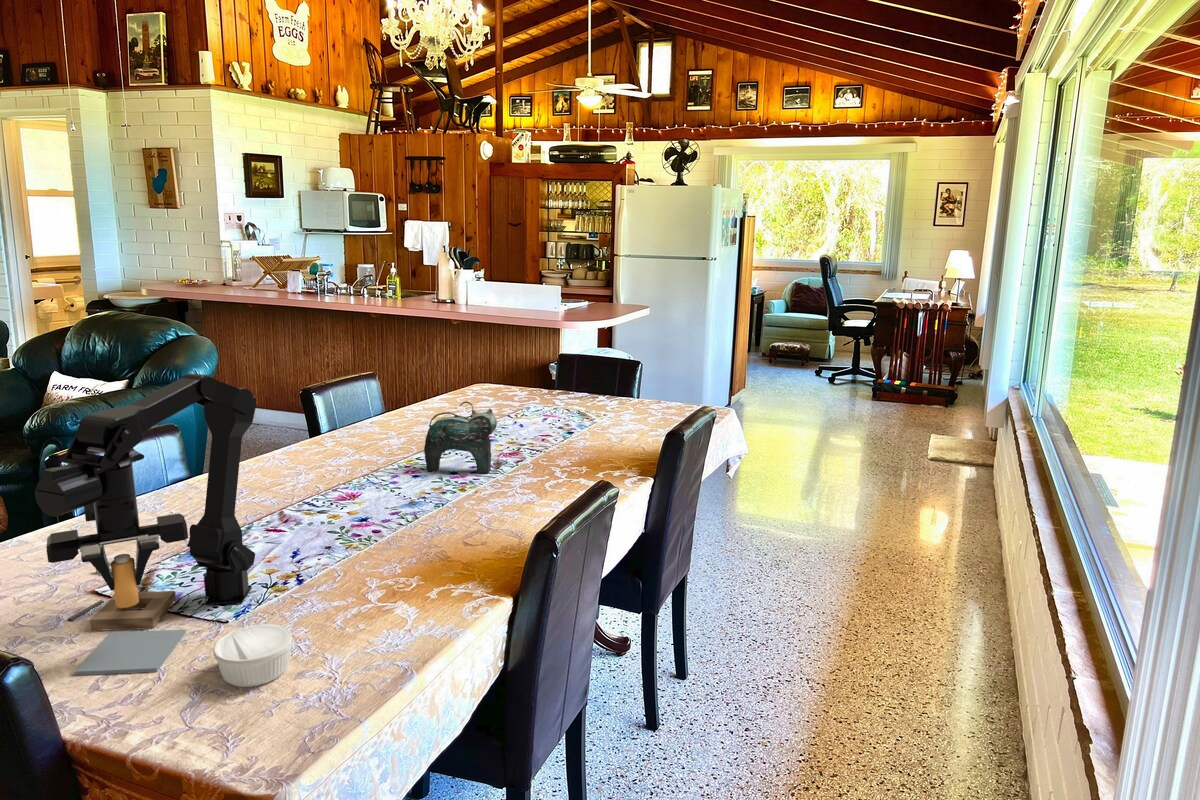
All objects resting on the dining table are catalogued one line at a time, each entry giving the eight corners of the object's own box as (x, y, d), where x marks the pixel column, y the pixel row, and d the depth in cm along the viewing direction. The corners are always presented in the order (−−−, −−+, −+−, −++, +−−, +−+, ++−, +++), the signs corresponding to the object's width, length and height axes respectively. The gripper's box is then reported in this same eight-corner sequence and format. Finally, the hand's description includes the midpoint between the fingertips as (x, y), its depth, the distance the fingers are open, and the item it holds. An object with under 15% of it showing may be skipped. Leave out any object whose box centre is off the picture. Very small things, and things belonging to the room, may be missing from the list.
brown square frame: (176, 600, 148) (175, 590, 148) (153, 628, 139) (152, 617, 138) (118, 602, 147) (116, 592, 147) (91, 630, 138) (89, 619, 137)
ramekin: (199, 682, 124) (196, 651, 122) (254, 647, 134) (252, 617, 133) (257, 699, 120) (254, 667, 119) (309, 661, 130) (307, 631, 129)
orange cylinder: (142, 598, 131) (137, 552, 129) (133, 607, 128) (128, 560, 126) (121, 598, 130) (115, 552, 129) (112, 608, 127) (106, 561, 126)
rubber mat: (185, 632, 138) (185, 629, 137) (157, 671, 126) (156, 668, 126) (110, 635, 136) (110, 632, 136) (74, 675, 124) (74, 671, 124)
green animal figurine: (497, 469, 228) (497, 400, 223) (492, 476, 222) (492, 405, 217) (429, 465, 230) (427, 397, 225) (421, 472, 224) (420, 402, 219)
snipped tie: (100, 602, 147) (100, 600, 147) (104, 602, 147) (104, 600, 147) (67, 620, 141) (67, 618, 140) (71, 621, 140) (71, 619, 140)
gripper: (176, 470, 136) (185, 556, 140) (43, 488, 127) (56, 580, 130) (183, 490, 127) (192, 581, 131) (40, 511, 117) (54, 609, 121)
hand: (125, 587), depth 128 cm, fingers closed on orange cylinder, 3 cm apart
